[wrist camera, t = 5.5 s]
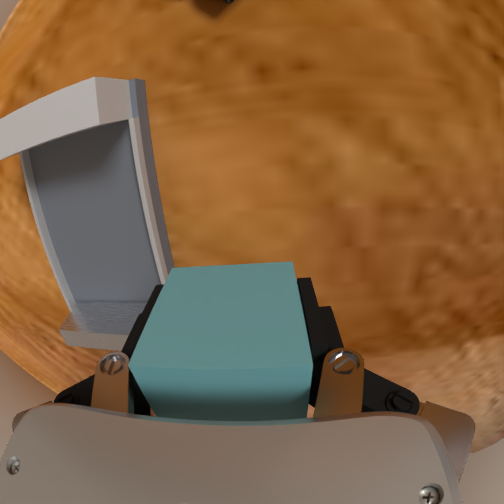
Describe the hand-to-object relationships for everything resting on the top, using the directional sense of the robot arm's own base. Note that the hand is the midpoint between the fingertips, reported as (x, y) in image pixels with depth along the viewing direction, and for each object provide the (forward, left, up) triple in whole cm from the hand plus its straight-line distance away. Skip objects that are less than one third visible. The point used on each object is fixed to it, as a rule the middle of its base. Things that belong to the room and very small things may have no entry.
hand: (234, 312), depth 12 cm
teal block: (0, 0, -1) cm, 1 cm away
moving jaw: (-15, +3, -11) cm, 19 cm away
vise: (-9, +10, -13) cm, 18 cm away
